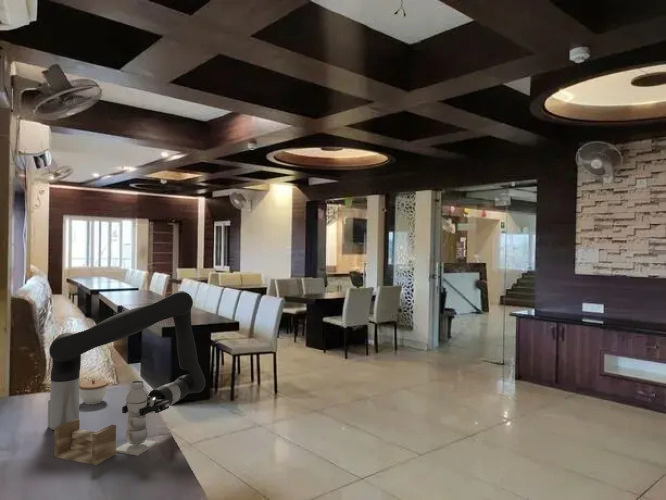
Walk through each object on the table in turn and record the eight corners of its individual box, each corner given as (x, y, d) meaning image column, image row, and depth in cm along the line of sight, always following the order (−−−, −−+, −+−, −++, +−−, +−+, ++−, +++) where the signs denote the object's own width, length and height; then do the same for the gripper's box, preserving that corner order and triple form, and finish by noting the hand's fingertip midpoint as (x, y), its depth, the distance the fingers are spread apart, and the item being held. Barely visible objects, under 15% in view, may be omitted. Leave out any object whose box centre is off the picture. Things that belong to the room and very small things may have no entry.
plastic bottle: (140, 448, 155) (140, 385, 155) (121, 445, 156) (121, 384, 156) (151, 440, 161) (152, 380, 161) (133, 438, 163) (134, 378, 162)
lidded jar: (82, 399, 207) (82, 377, 207) (109, 397, 210) (110, 375, 210) (75, 407, 197) (75, 384, 197) (104, 405, 199) (104, 382, 199)
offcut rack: (54, 457, 150) (54, 427, 150) (75, 447, 158) (75, 418, 158) (96, 465, 146) (96, 434, 146) (115, 454, 153) (116, 425, 153)
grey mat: (113, 451, 155) (113, 449, 155) (135, 439, 165) (135, 438, 165) (137, 455, 153) (137, 453, 153) (157, 443, 162) (157, 441, 162)
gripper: (147, 383, 175) (113, 397, 159) (182, 387, 170) (150, 402, 154) (147, 404, 175) (113, 420, 159) (181, 409, 170) (150, 426, 154)
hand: (132, 411), depth 157 cm, fingers closed on plastic bottle, 6 cm apart
